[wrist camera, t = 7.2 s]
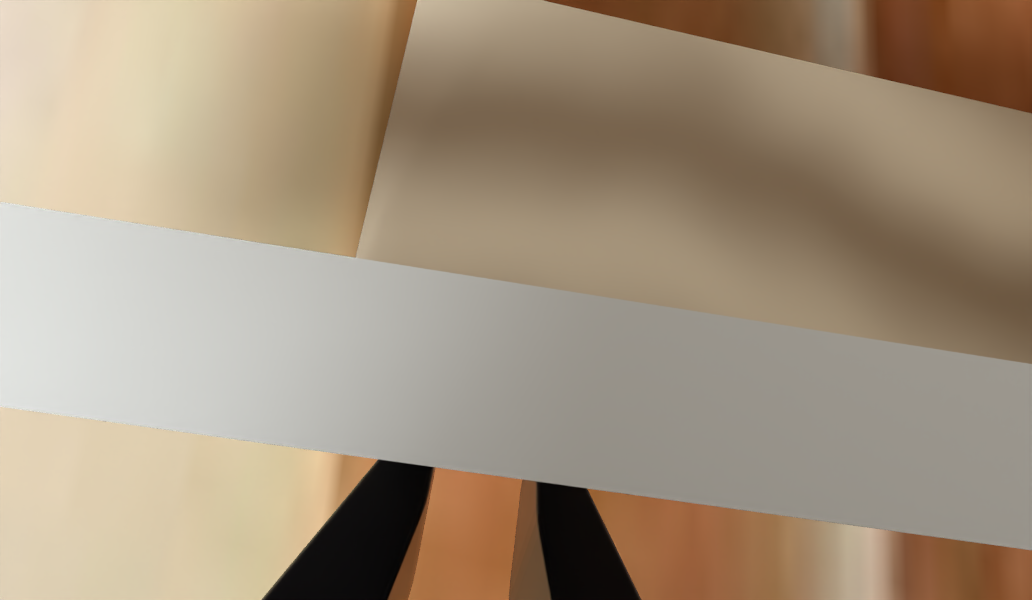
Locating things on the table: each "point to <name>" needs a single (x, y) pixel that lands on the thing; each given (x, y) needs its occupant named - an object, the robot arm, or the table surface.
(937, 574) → the table surface
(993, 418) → the cabinet door
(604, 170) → the cabinet corner
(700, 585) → the table surface
